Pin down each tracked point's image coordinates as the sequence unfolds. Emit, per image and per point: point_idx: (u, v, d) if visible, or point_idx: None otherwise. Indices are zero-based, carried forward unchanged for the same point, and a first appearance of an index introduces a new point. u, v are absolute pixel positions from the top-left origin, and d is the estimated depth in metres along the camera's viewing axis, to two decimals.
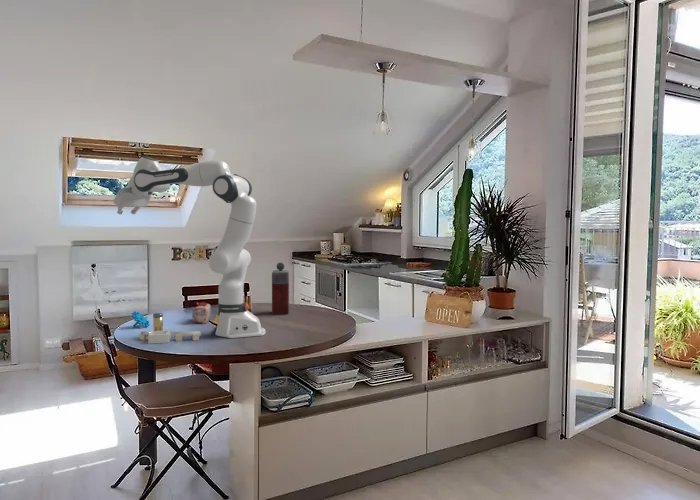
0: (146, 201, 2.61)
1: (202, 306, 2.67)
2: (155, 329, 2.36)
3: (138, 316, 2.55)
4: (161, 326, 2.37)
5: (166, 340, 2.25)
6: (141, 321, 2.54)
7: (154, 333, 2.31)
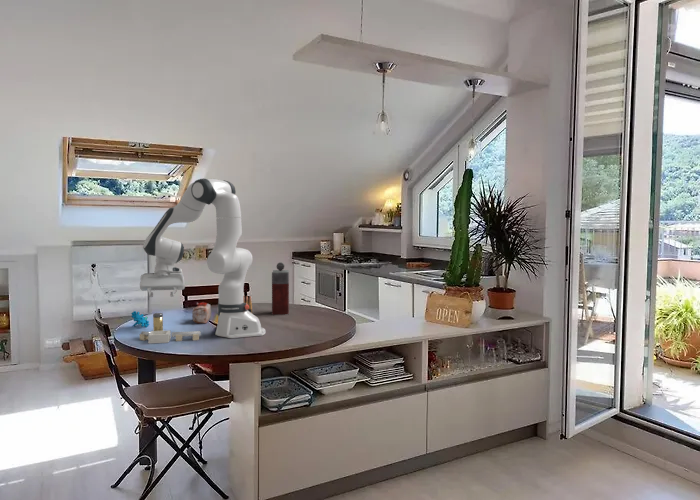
0: (180, 280, 2.54)
1: (202, 306, 2.67)
2: (155, 329, 2.36)
3: (138, 316, 2.55)
4: (161, 326, 2.37)
5: (166, 340, 2.25)
6: (140, 321, 2.54)
7: (154, 333, 2.31)
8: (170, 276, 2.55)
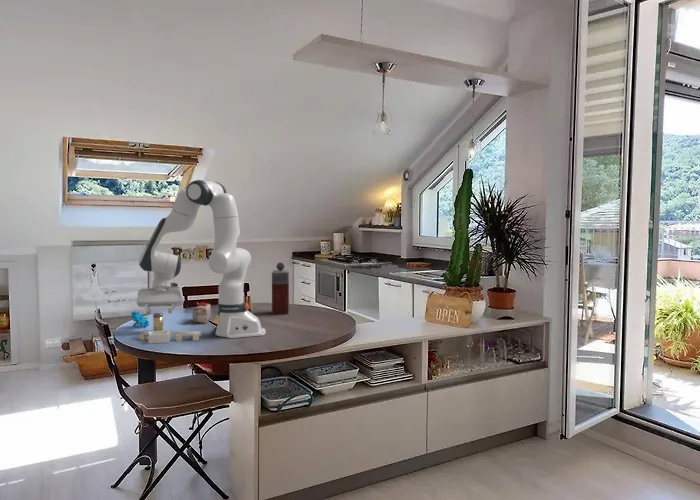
0: (178, 295, 2.47)
1: (202, 306, 2.67)
2: (155, 329, 2.36)
3: (137, 316, 2.56)
4: (161, 326, 2.37)
5: (166, 340, 2.25)
6: (140, 321, 2.54)
7: (154, 333, 2.31)
8: (168, 292, 2.47)
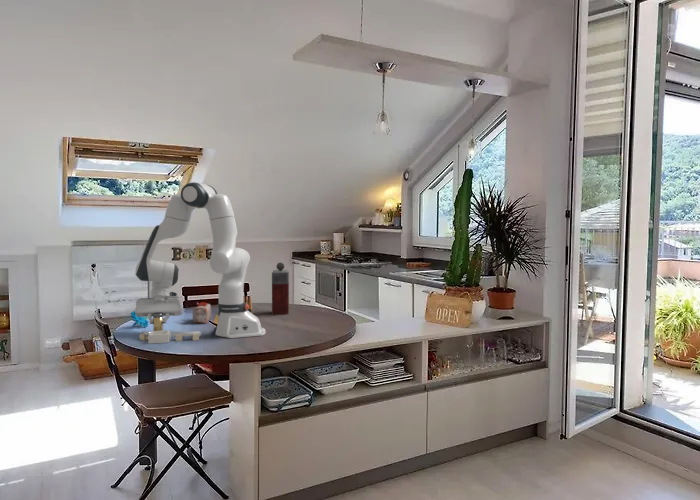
0: (177, 305, 2.42)
1: (202, 306, 2.67)
2: (155, 329, 2.36)
3: None
4: (161, 326, 2.37)
5: (166, 340, 2.25)
6: (139, 321, 2.54)
7: (154, 333, 2.31)
8: (167, 301, 2.43)
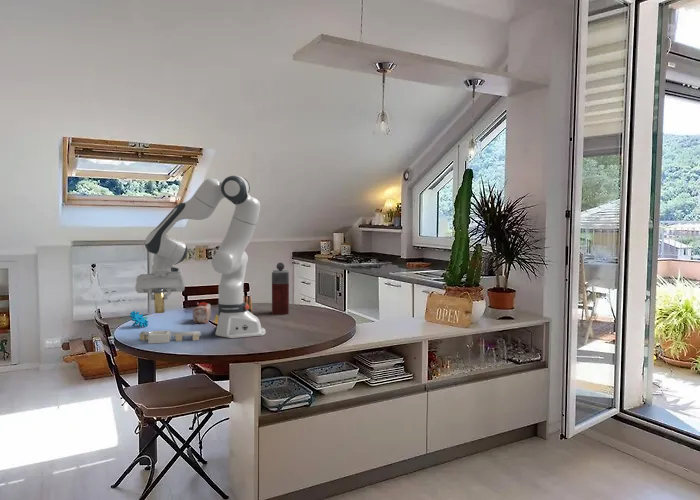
0: (179, 281, 2.34)
1: (202, 306, 2.67)
2: (156, 305, 2.27)
3: (136, 316, 2.56)
4: (162, 302, 2.28)
5: (166, 340, 2.25)
6: (139, 321, 2.54)
7: (154, 333, 2.31)
8: (168, 277, 2.34)
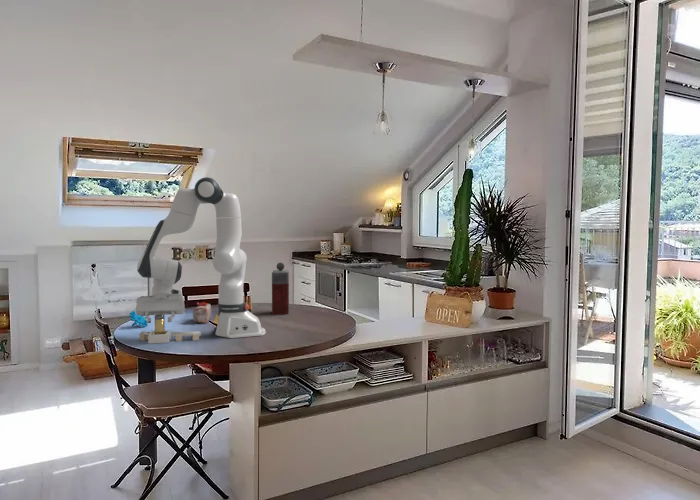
0: (179, 303, 2.33)
1: (203, 306, 2.67)
2: (156, 331, 2.27)
3: (136, 316, 2.56)
4: (163, 328, 2.28)
5: (166, 340, 2.25)
6: (138, 321, 2.54)
7: (154, 333, 2.31)
8: (169, 299, 2.34)
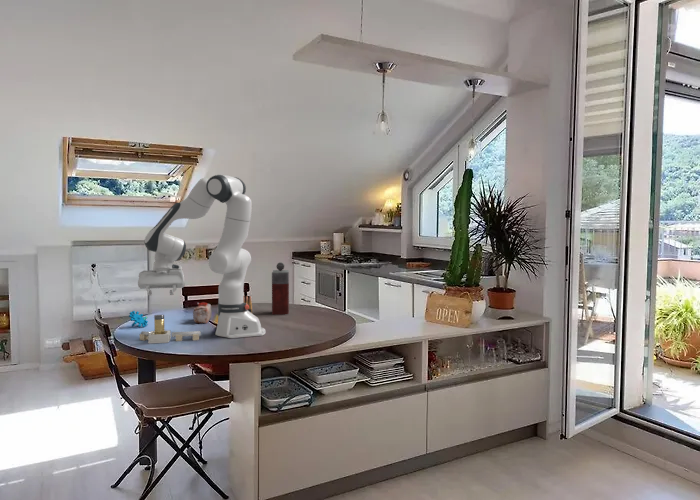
0: (179, 277, 2.45)
1: (203, 306, 2.67)
2: (156, 332, 2.27)
3: (136, 316, 2.56)
4: (163, 328, 2.28)
5: (166, 340, 2.25)
6: (138, 321, 2.54)
7: (154, 333, 2.31)
8: (169, 274, 2.45)
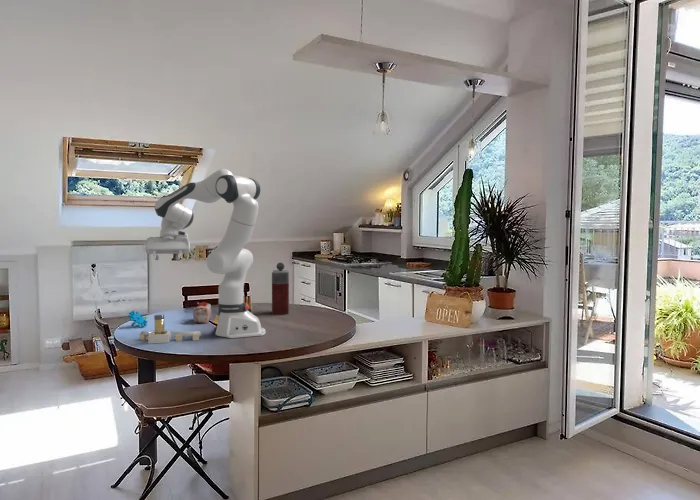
0: (185, 243, 2.53)
1: (203, 306, 2.67)
2: (156, 332, 2.27)
3: (135, 316, 2.56)
4: (163, 328, 2.28)
5: (166, 340, 2.25)
6: (137, 321, 2.54)
7: (154, 333, 2.31)
8: (176, 240, 2.53)
